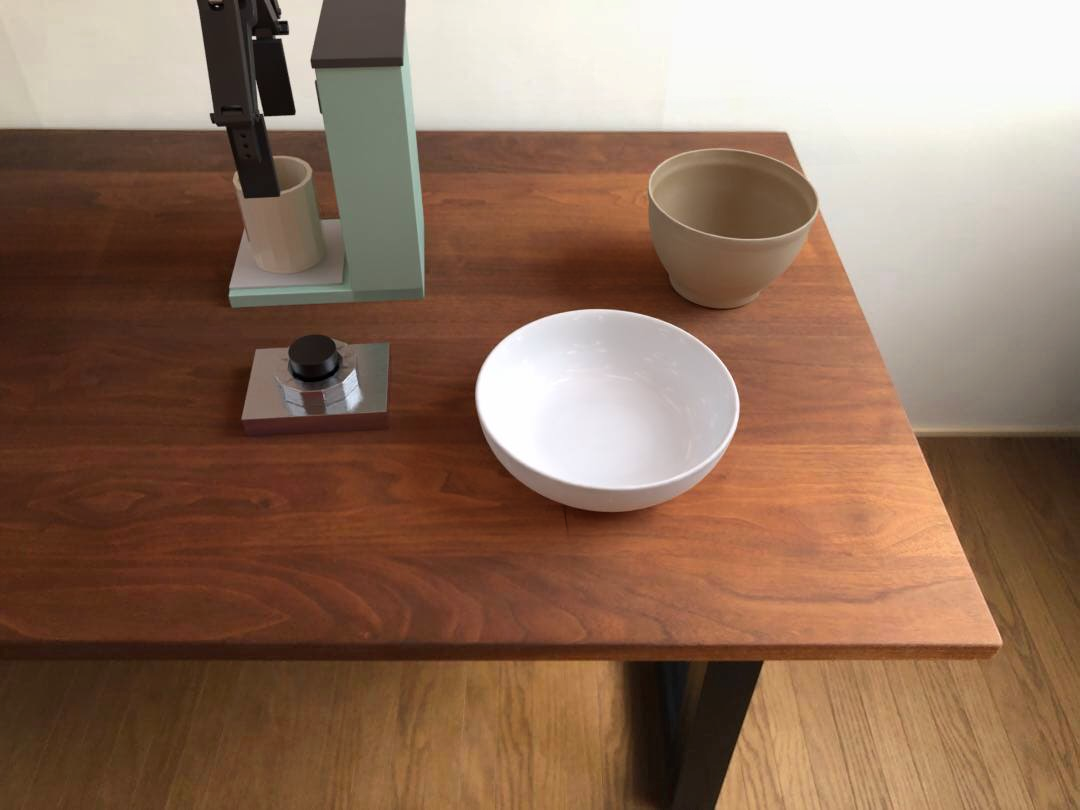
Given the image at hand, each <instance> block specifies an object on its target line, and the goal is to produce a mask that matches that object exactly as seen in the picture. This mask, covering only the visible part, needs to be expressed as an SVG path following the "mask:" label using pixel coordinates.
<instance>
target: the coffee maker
mask: <svg viewBox="0 0 1080 810" xmlns="http://www.w3.org/2000/svg"><path fill="white" fill-rule="evenodd" d="M321 3H322V4H321V9H320V14H319V16H318V17H319V18H318V21H317V22H318V23H317V27H316V32H315V36H314V41H313V45H312V49H311V54H310V59H309V61H310V67H311V69H313V70H314V73H315V80H314V88H315V91H316V98H317V103H318V109H319V114H321V115H322V121H323V127H324V133H325V138H326V144H327V150H328V157H329V162H330V169H331V173H332V180H333V186H334V192H335V198H336V202H337V210H338V215H339V218H336V219H335V218H333V219H322V223H323V229H324V234H325V240H326V254H325V256H324V258H323V259H322V260H321V261H320V262H319V263H318V264H316V265H315V266H313V267H311V268H309V269H307V270H304V271H301V272H297V273H291V274H276V273H271V272H267V271H265V270H263V269H261V268H259V267H258V266H257V265H256V263H255V262H254V259H253V256H252V254H251V250H250V246H249V242H248V238H247V234H246V231H245V227H244V228H243V232H242V235H241V239H240V244H239V247H238V252H237V255H236V259H235V262H234V267H233V270H232V275H231V279H230V282H229V285H228V288H229V292H228V296H227V297H228V300H229V303H230V307H231V308H233V309H235V308H252V307H253V308H254V307H271V306H272V307H274V306H276V307H277V306H298V305H299V306H300V305H318V304H319V305H321V304H340V303H343V304H344V303H363V302H365V303H366V302H386V301H407V300H408V301H409V300H425V218H424V207H423V196H422V195H423V194H422V185H421V184H422V183H421V175H420V162H419V154H418V153H419V152H418V143H417V141H418V140H417V132H416V131H417V130H416V120H415V119H416V118H415V109H414V99H413V90H412V89H413V88H412V78H411V66H410V65H411V64H410V56H409V45H408V36H407V33H408V32H407V23H406V17H407V16H406V15H407V13H406V11H407V0H322V2H321Z"/></svg>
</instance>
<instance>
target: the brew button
mask: <svg viewBox="0 0 1080 810" xmlns="http://www.w3.org/2000/svg"><path fill="white" fill-rule="evenodd" d="M332 339H333V338H332ZM332 339H331V337H330V336H327V335H324V334H319V333H318V334H317V333H312V334H307V335H304V336H301V337H299V338H296V339H295V340H294V341H293V342H291V344H290V345H289V346H290V347H289V346H288V347H289V350H288V355H289V359H290V363H291V368H292V372H293V374H294V376H295V377H296V378H297V379H299V380H301V381H304V382H320V381H323V380H325V379H327V378H330V377H332V376H333V375H334V374H335V373H336V372H337V371H338V369H339V359H338V354H337V348H336V344H335V342H334V341H333V340H332Z"/></svg>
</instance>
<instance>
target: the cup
mask: <svg viewBox="0 0 1080 810" xmlns="http://www.w3.org/2000/svg"><path fill="white" fill-rule="evenodd" d="M273 160H274V164H275V169H276V173H277V178H278V182H279V187H280V191H281V193H280V197H268V198H249V199H244V196H243V192H242V188H241V184H240V180H239V176H238V173H237V170H236V171H235V172H234V175H233V178H232V184H233V188H234V191H235V195H236V199H237V203H238V207H239V212H240V214H241V215H240V216H241V219H242V223H243V226H244V228H245V231H246V234H247V238H248V242H249V246H250V250H251V254H252V256H253V259H254V262H255V263H256V265H257V266H258V267H259V268H261V269H263V270H265V271H267V272H271V273H276V274H291V273H297V272H301V271H304V270H307V269H309V268H311V267H313V266H315V265H316V264H318V263H319V262H320V261H321V260H322V259H323V258H324V256H325V254H326V240H325V234H324V229H323V223H322V220H323V219H322V213H321V208H320V201H319V197H318V191H317V186H316V181H315V175H314V170H313V168H312V167H311V166H310V164H309V163H308V162H307V161H305V160H303V159H301V158H300V157H295V156H289V155H273Z"/></svg>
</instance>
